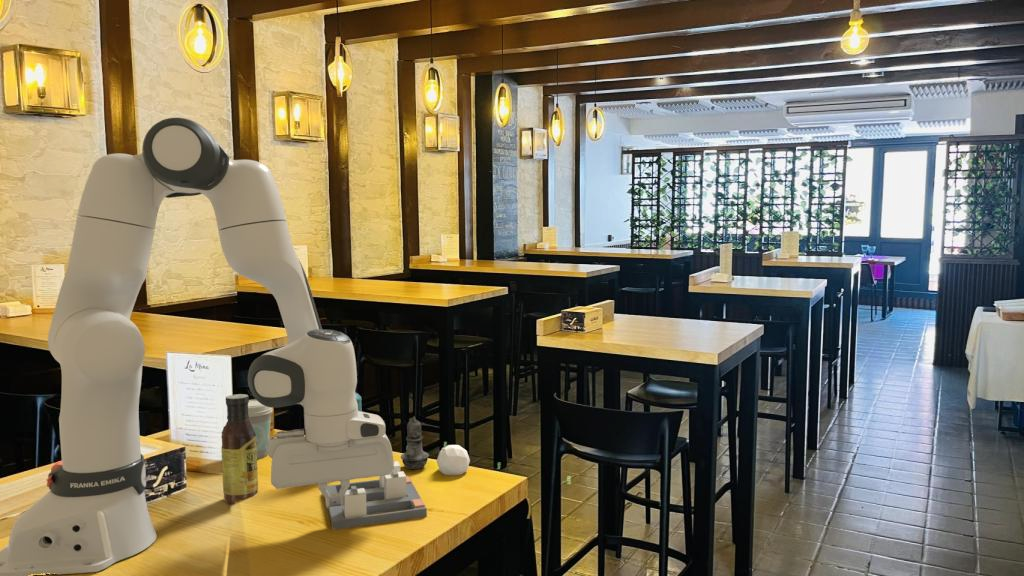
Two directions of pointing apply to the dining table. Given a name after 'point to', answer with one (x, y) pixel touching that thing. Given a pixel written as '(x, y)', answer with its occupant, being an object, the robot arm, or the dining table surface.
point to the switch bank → (378, 505)
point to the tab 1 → (355, 503)
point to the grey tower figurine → (414, 447)
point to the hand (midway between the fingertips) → (334, 505)
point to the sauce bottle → (239, 451)
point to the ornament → (453, 460)
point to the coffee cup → (260, 425)
